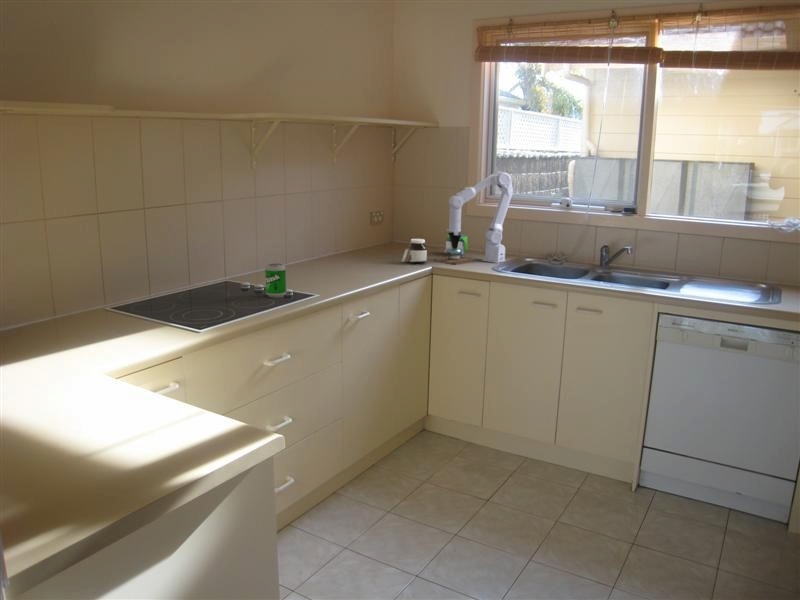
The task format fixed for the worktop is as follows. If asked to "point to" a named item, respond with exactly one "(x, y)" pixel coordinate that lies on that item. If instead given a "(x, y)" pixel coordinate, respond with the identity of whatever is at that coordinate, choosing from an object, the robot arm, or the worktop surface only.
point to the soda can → (275, 280)
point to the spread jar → (416, 252)
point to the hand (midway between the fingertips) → (454, 247)
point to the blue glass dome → (452, 251)
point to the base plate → (462, 260)
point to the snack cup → (464, 240)
